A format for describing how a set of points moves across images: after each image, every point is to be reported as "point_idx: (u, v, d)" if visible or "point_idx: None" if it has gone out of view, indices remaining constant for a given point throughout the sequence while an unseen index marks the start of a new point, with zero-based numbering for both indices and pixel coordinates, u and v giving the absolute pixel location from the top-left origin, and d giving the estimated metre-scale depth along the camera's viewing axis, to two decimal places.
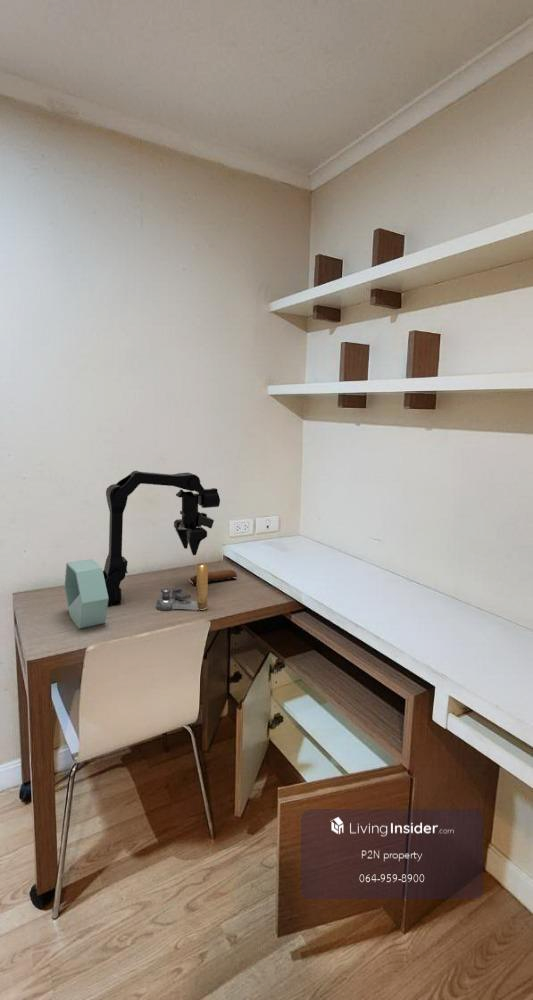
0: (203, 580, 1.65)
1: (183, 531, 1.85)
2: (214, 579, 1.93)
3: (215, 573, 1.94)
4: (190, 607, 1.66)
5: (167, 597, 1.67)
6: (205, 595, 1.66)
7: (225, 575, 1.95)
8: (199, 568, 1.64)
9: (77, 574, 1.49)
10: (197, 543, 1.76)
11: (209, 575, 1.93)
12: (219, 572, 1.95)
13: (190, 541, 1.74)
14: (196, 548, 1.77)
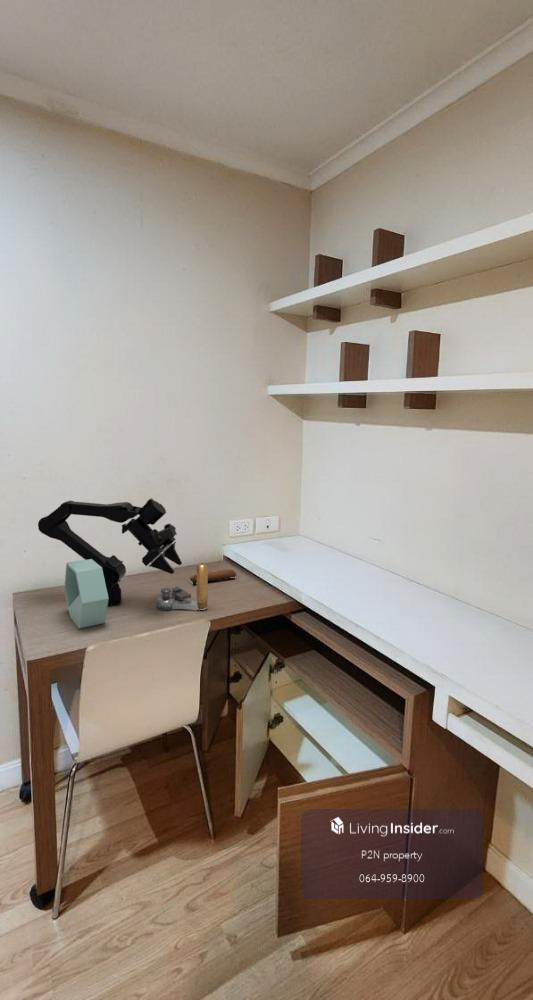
0: (203, 580, 1.65)
1: (167, 551, 1.71)
2: (214, 579, 1.93)
3: (215, 573, 1.95)
4: (190, 607, 1.66)
5: (167, 597, 1.67)
6: (205, 595, 1.66)
7: (224, 575, 1.96)
8: (199, 568, 1.64)
9: (77, 574, 1.49)
10: (163, 562, 1.61)
11: (209, 575, 1.93)
12: (219, 572, 1.96)
13: (154, 566, 1.60)
14: (167, 567, 1.61)
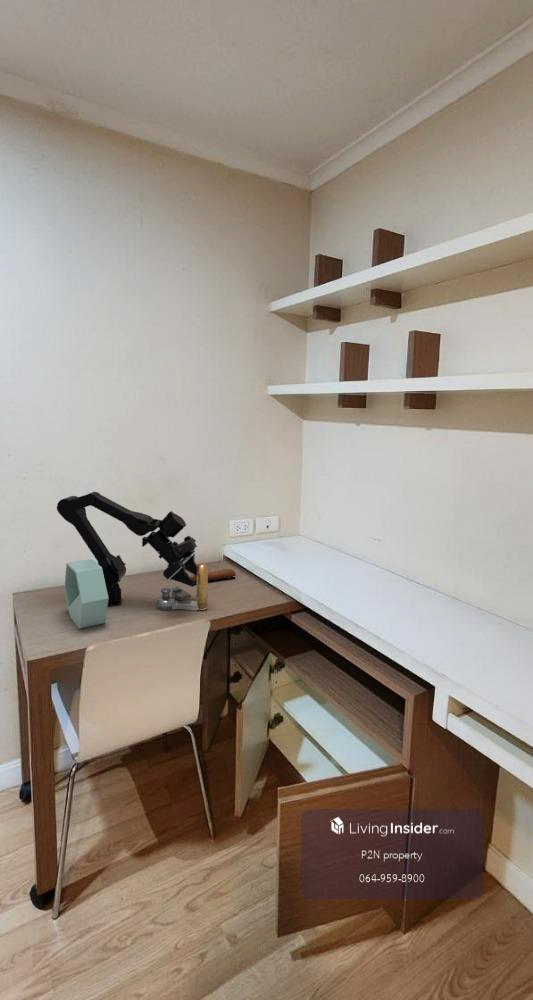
0: (203, 580, 1.65)
1: (186, 563, 1.71)
2: (213, 578, 1.94)
3: (214, 572, 1.95)
4: (190, 607, 1.66)
5: (167, 597, 1.67)
6: (205, 595, 1.66)
7: (224, 574, 1.96)
8: (199, 568, 1.64)
9: (77, 574, 1.49)
10: (184, 575, 1.61)
11: (208, 574, 1.94)
12: (218, 571, 1.96)
13: (175, 579, 1.60)
14: (188, 579, 1.61)
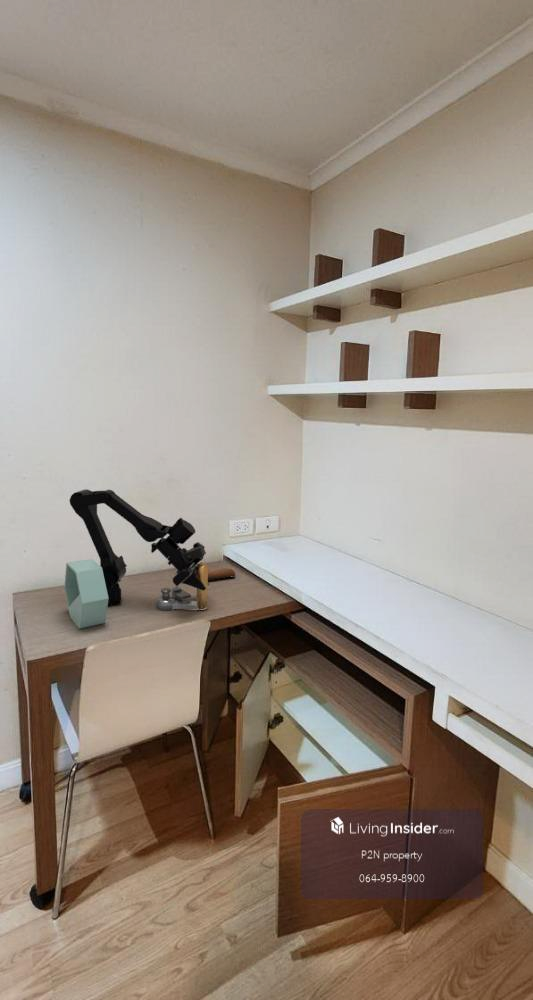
0: (203, 580, 1.65)
1: None
2: (212, 578, 1.94)
3: (214, 572, 1.96)
4: (190, 607, 1.66)
5: (167, 597, 1.67)
6: (205, 595, 1.66)
7: (223, 574, 1.96)
8: (199, 568, 1.64)
9: (77, 574, 1.49)
10: (195, 579, 1.63)
11: (208, 574, 1.94)
12: (218, 571, 1.97)
13: (186, 583, 1.63)
14: (199, 583, 1.64)
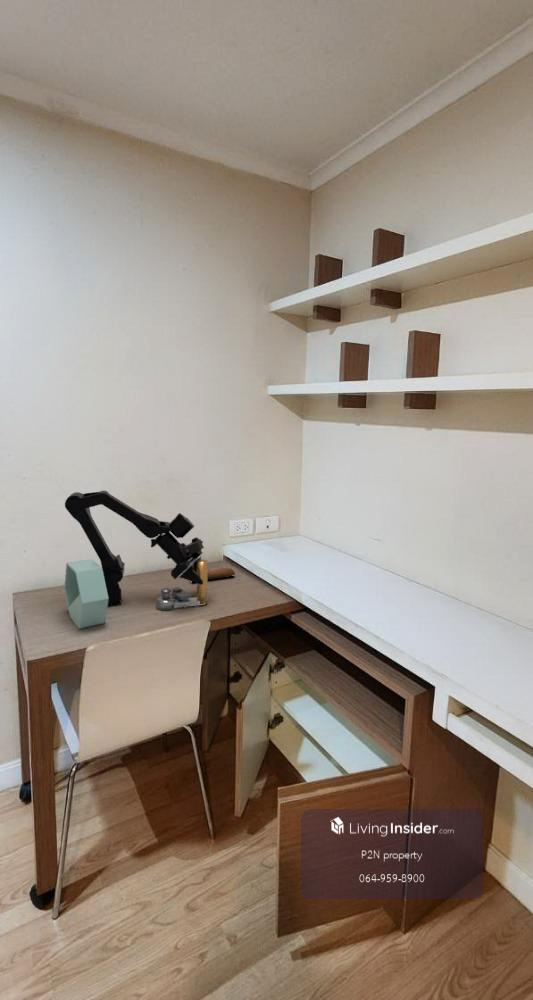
0: (204, 576, 1.69)
1: None
2: (212, 577, 1.95)
3: (213, 571, 1.96)
4: (192, 604, 1.69)
5: (167, 597, 1.67)
6: (206, 590, 1.71)
7: (223, 573, 1.97)
8: (200, 564, 1.68)
9: (77, 574, 1.49)
10: (193, 574, 1.67)
11: (207, 573, 1.95)
12: (217, 570, 1.97)
13: (184, 577, 1.67)
14: (197, 578, 1.68)
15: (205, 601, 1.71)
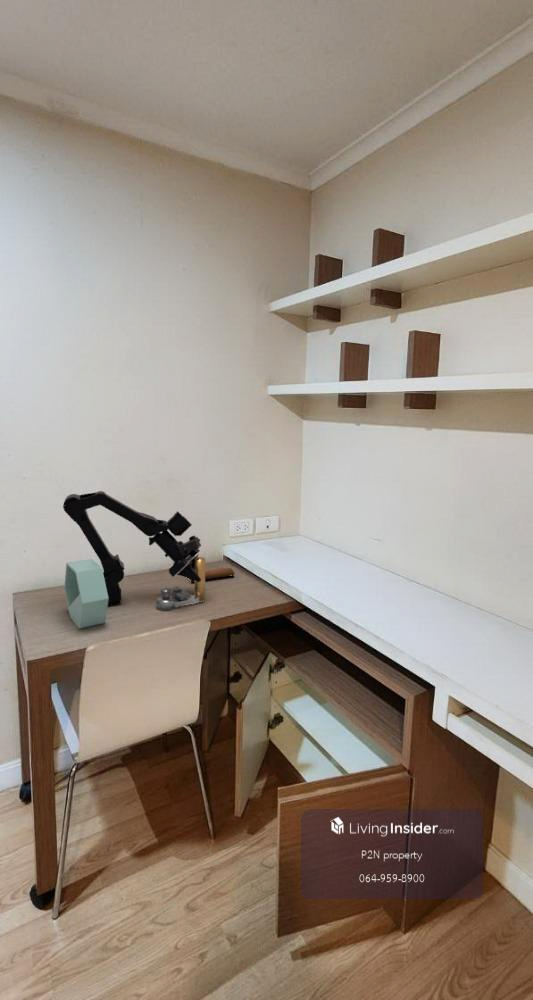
0: (203, 573, 1.72)
1: None
2: (212, 577, 1.95)
3: (213, 571, 1.97)
4: (192, 601, 1.71)
5: (167, 597, 1.67)
6: (204, 587, 1.73)
7: (222, 573, 1.97)
8: (199, 562, 1.70)
9: (77, 574, 1.49)
10: (191, 571, 1.70)
11: (207, 573, 1.95)
12: (217, 570, 1.98)
13: (182, 574, 1.70)
14: (194, 575, 1.70)
15: (203, 598, 1.74)
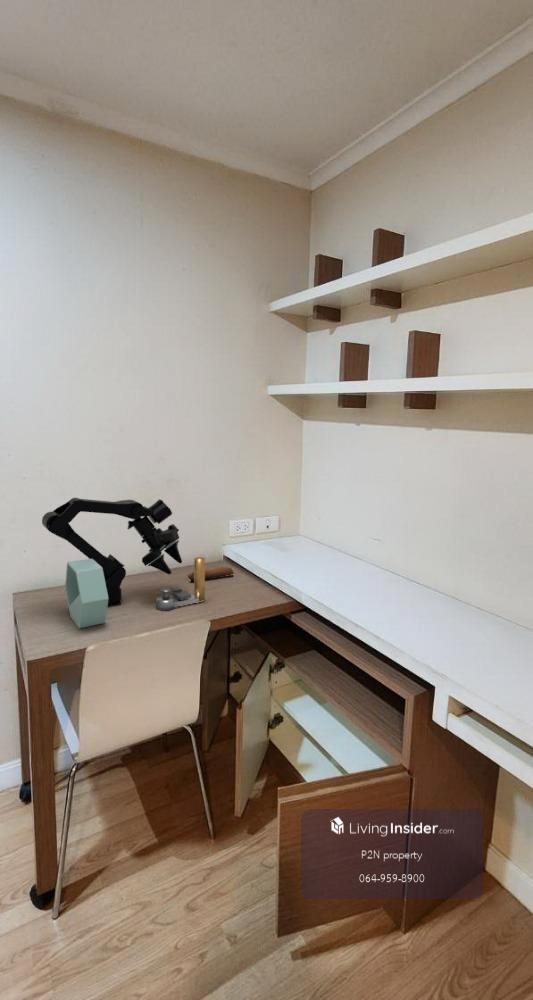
0: (203, 573, 1.72)
1: (169, 549, 1.80)
2: (211, 576, 1.96)
3: (212, 570, 1.98)
4: (192, 601, 1.71)
5: (167, 597, 1.67)
6: (204, 587, 1.74)
7: (222, 572, 1.98)
8: (199, 562, 1.71)
9: (77, 574, 1.49)
10: (162, 563, 1.69)
11: (206, 572, 1.96)
12: (216, 569, 1.99)
13: (153, 565, 1.70)
14: (165, 568, 1.70)
15: (203, 598, 1.74)
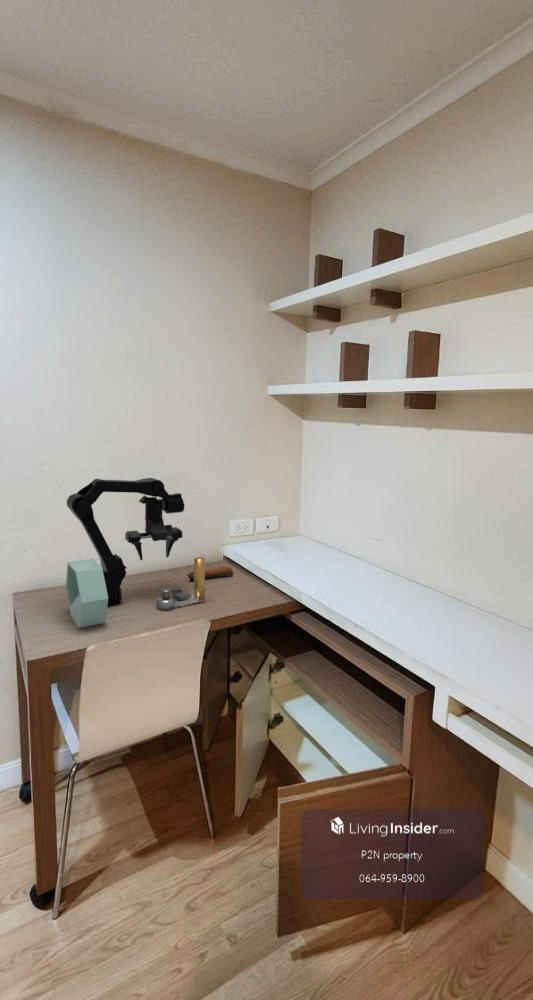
0: (203, 573, 1.72)
1: (167, 539, 1.80)
2: (210, 575, 1.97)
3: (211, 569, 1.98)
4: (192, 601, 1.71)
5: (167, 597, 1.67)
6: (204, 587, 1.74)
7: (221, 572, 1.99)
8: (199, 562, 1.71)
9: (77, 574, 1.49)
10: None
11: (205, 571, 1.97)
12: (215, 569, 1.99)
13: None
14: (138, 553, 1.75)
15: (203, 598, 1.74)
